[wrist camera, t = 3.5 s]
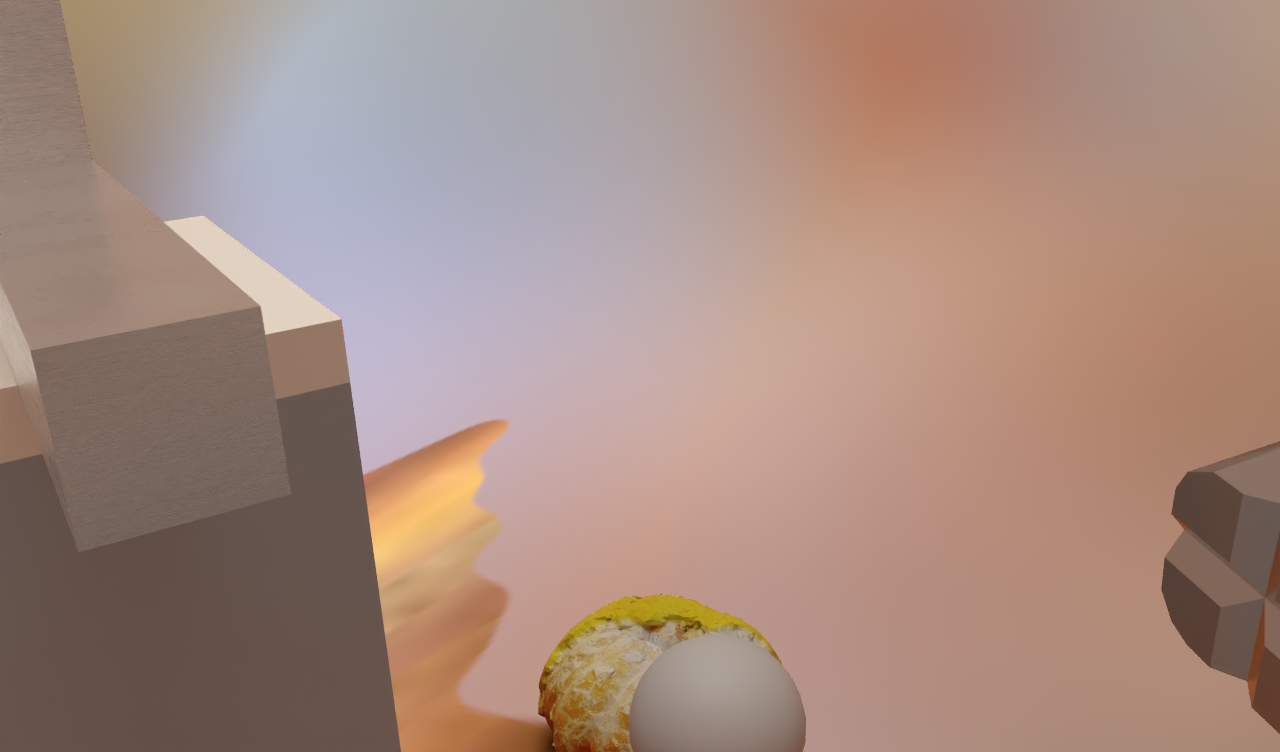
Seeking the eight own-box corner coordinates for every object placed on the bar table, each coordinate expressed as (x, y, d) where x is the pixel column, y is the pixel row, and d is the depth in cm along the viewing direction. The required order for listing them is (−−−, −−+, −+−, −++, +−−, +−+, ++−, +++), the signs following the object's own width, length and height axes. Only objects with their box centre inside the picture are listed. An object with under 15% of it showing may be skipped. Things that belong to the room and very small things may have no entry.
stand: (318, 871, 46) (203, 215, 36) (454, 1141, 35) (341, 319, 26) (37, 995, 41) (-181, 274, 31) (98, 1348, 30) (-199, 429, 21)
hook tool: (97, 254, 32) (32, -56, 29) (291, 494, 18) (199, -68, 15) (-25, 274, 31) (-107, -50, 28) (79, 552, 16) (-68, -58, 14)
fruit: (487, 799, 49) (500, 610, 48) (604, 719, 58) (616, 561, 57) (739, 877, 44) (757, 669, 43) (822, 777, 53) (838, 605, 52)
